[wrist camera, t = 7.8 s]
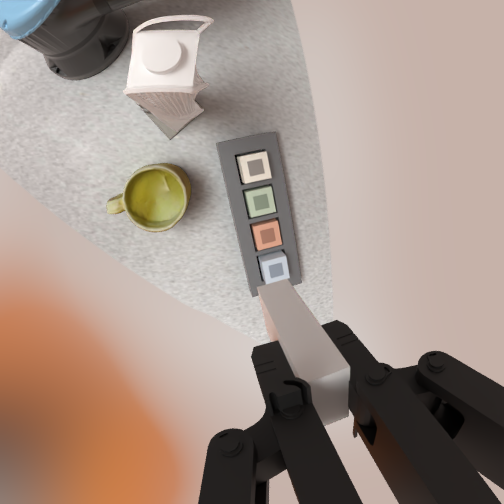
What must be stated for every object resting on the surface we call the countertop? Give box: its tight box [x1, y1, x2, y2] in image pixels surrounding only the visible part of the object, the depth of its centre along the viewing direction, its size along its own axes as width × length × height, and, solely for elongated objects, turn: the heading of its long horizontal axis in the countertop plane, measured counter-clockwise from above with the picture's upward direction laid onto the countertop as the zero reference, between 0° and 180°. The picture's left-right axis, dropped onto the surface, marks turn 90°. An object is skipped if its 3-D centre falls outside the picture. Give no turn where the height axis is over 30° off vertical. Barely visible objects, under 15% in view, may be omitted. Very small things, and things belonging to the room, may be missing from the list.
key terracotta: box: [250, 218, 282, 251], centre depth 47 cm, size 4×4×3 cm
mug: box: [106, 163, 191, 232], centre depth 40 cm, size 12×10×10 cm
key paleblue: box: [258, 250, 290, 284], centre depth 48 cm, size 4×4×3 cm
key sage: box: [243, 185, 276, 218], centre depth 45 cm, size 4×4×3 cm
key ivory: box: [237, 151, 272, 184], centre depth 42 cm, size 4×4×3 cm
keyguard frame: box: [216, 132, 302, 297], centre depth 47 cm, size 26×9×2 cm, turn 12°
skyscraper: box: [123, 15, 214, 139], centre depth 27 cm, size 8×8×28 cm
